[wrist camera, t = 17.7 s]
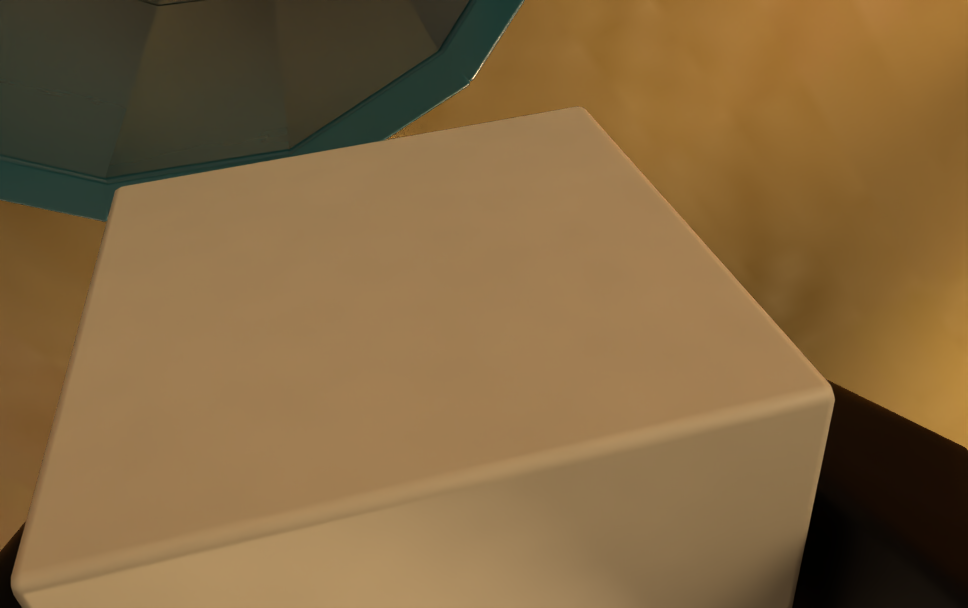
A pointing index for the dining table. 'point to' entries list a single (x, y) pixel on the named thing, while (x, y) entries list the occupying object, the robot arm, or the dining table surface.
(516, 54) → the dining table surface
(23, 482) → the dining table surface
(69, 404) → the block
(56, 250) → the dining table surface
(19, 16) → the saucepan
